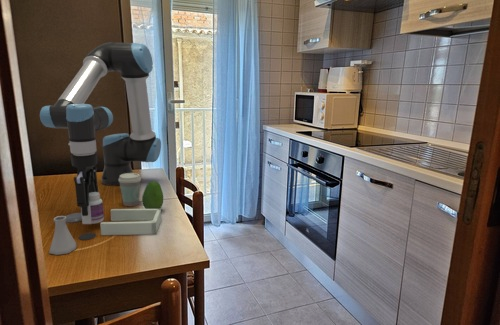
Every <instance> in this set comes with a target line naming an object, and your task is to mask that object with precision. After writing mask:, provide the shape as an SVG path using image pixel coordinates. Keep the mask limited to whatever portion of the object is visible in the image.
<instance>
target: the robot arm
mask: <svg viewBox="0 0 500 325" xmlns="http://www.w3.org/2000/svg"><path fill="white" fill-rule="evenodd" d="M152 57H153V56H152V54H151V50H150V49H149V48H148V46H147V45H146V44H143V43H140V42H139V43H137V42H113V41H111V42H105V43H102V44H100V45H97V46H96V47H95V48H93V49H92V50H90V52H89V53H88V54H86V56H85V57H84V58H83V61H82V66H81V67H80V69H79V70H78V72H77V73H76V74H75V76H74V78H73V79H71V82H70V83H69V84H68V85H67V87H66V88H65V90H63V93H61V95H60V96H59V98H58V99H57V100H56V102H55V103H54V105H52V104H51V105H45V106H42V107H41V109H40V111H39V119H40V122H41V123H42V124H41V125H43V127H47V128H52V129H67V130H68V141H69V142H68V144H67V145H68V146H69V150H70V153H71V155H70V160H71V165H72V167H73V168H74V167H75V168H77V173H76V174H77V176H74V177H73V182H74V188H75V196H76V198H75V199H76V206H77V208H78V207H80V213H81V215H82V221H81V222H82V225H92V224H93V223H92V219H91V208H90V205H89V193H91V192H98V193H99V185H98V177H97V176H98V175H97V165H98V164H99V163H98V154H97V151H98V150H97V140H96V132H97V131H101V130H104V129H107V128H108V127H110V126H111V124H112V123H113V122H114V115H113V113H112V111H111V109H109V108H108V107H105V106H95V107H93V105H92V104H88V103H86V101H87V100H88V98H89V96H90V95H91V94H92V92H93V90H94V89H95V87H96V86H97V84H98V82H99V81H100V79H101V78H103V77H105V76H106V75H107V74H108V73H109V72H110V73H111V72H119V73H120V78H122V79H123V80H124V81H125V88H126V95H127V103H128V108H129V109H128V110H129V116H130V117H129V118H130V124H131V130H132V131H131V133H130V134H129V133H128V132H127V133H124V132H123V133H114V134H109V135H105V136H104V137H103V138H102V151H103V152H102V153H103V161H104V162H103V163H104V164H103V165H104V168H103V171H102V175H101V177H100V178H101V184H103V185H106V186H120V182H119V181H118V180H119V177H120V175H121V174H125V173H134V171H133V169H132V166H131V162H135V163H136V162H139V163H154V162H157V161H158V159H159V157H160V155H161V150H162V141H161V139H160V138H159V137H157V134H156V132H155V131H153V129H152V120H151V114H150V113H151V112H150V105H149V104H150V103H149V96H148V86H147V79H148V78H149V77H150V73H151V72H152V71H153V64H154V62H153V58H152Z"/></svg>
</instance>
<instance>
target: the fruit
mask: <svg viewBox="0 0 500 325" xmlns="http://www.w3.org/2000/svg"><path fill="white" fill-rule="evenodd" d="M141 199H142V205H143V207H144V209H162V207H163V204H164V193H163V190H162V186H161V184H160V183H159V182H158V181H155V180H152V181H150V182H148V183H147V184H146V186H145V189H144V191H143V193H142V197H141Z"/></svg>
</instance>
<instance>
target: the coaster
mask: <svg viewBox="0 0 500 325" xmlns="http://www.w3.org/2000/svg"><path fill="white" fill-rule="evenodd" d="M65 216H66V220H65V221H66V223H68V224H69V223H80V222H82V215H81V212H74V213H69V214H67V215H65Z"/></svg>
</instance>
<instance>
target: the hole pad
mask: <svg viewBox="0 0 500 325" xmlns="http://www.w3.org/2000/svg"><path fill="white" fill-rule="evenodd" d="M95 237H97V235H96V233H94V232H86V233H82V234H81V235H79V236H78V240H80V241H89V240H92V239H94V238H95Z"/></svg>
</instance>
